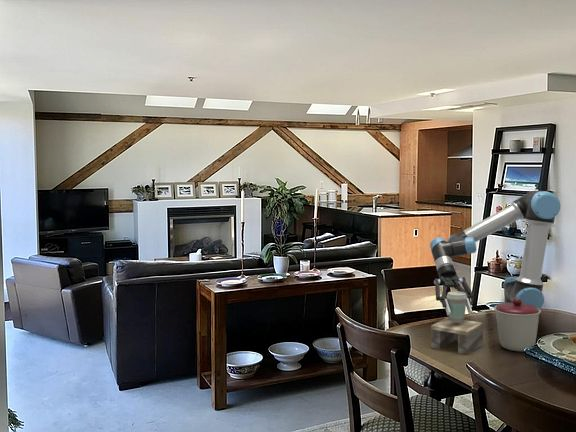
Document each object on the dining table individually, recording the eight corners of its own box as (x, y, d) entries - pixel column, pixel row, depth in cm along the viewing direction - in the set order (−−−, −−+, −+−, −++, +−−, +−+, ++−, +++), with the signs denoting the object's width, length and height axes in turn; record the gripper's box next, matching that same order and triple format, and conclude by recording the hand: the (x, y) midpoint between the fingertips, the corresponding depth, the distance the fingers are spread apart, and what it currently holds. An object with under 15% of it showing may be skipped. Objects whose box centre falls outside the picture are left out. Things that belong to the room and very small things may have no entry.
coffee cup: (468, 323, 230) (468, 295, 229) (447, 323, 232) (447, 295, 231) (466, 318, 238) (466, 291, 237) (445, 318, 240) (445, 290, 239)
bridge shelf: (482, 344, 237) (482, 322, 236) (467, 354, 225) (467, 331, 224) (447, 338, 247) (447, 317, 246) (431, 347, 235) (430, 325, 234)
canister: (550, 352, 224) (550, 301, 222) (509, 356, 221) (509, 304, 219) (524, 339, 242) (524, 292, 240) (485, 343, 239) (485, 295, 237)
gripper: (466, 272, 250) (481, 316, 235) (420, 274, 248) (432, 319, 233) (471, 262, 244) (487, 307, 229) (424, 264, 242) (437, 309, 228)
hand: (459, 313), depth 231 cm, fingers closed on coffee cup, 8 cm apart
